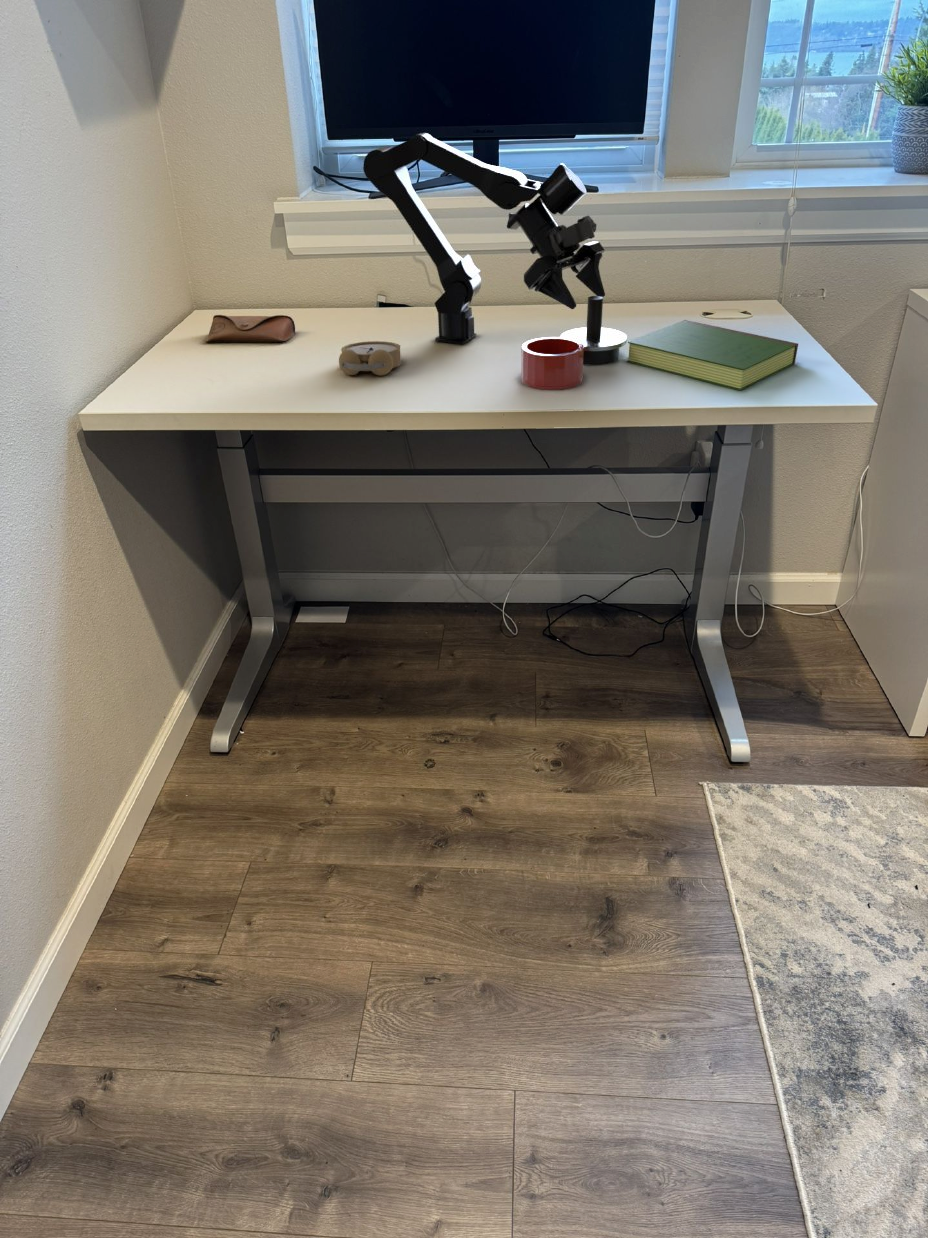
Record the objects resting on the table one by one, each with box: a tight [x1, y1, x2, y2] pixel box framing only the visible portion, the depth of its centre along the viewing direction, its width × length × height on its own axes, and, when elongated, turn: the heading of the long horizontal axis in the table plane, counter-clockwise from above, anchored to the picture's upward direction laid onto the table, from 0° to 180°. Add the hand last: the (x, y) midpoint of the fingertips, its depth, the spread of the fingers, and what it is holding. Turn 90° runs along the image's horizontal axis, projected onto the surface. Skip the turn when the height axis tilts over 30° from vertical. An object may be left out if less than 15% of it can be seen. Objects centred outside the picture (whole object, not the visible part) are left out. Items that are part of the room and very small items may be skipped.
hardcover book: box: [626, 319, 799, 392], centre depth 162 cm, size 25×19×4 cm
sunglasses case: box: [204, 314, 296, 344], centre depth 185 cm, size 18×7×7 cm
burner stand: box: [583, 347, 620, 366], centre depth 167 cm, size 10×10×3 cm
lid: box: [559, 295, 628, 351], centre depth 164 cm, size 13×13×8 cm
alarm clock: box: [338, 340, 402, 376], centre depth 165 cm, size 11×5×15 cm
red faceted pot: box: [520, 336, 584, 391], centre depth 156 cm, size 11×11×6 cm
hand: (589, 302), depth 163 cm, fingers open, 9 cm apart
